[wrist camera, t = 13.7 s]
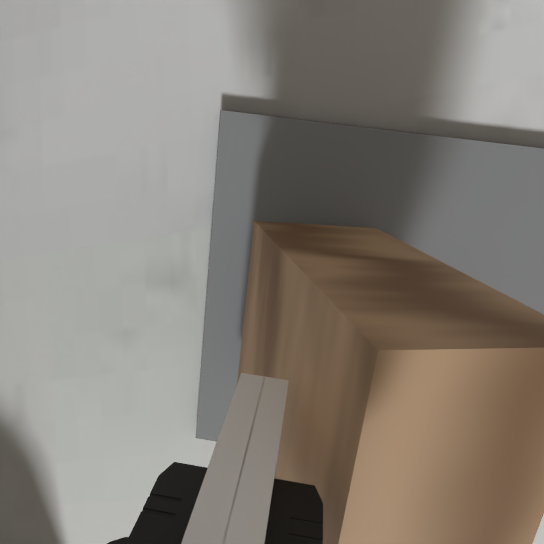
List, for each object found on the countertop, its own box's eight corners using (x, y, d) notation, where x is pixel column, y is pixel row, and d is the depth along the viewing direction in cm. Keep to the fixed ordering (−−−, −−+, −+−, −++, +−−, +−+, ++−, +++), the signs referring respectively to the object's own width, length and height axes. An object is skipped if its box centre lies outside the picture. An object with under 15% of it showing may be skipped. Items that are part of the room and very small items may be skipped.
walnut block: (235, 396, 23) (314, 658, 12) (253, 220, 20) (378, 350, 9) (345, 391, 25) (504, 618, 14) (376, 228, 22) (606, 346, 11)
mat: (198, 431, 27) (195, 437, 26) (223, 110, 22) (220, 110, 21) (582, 495, 26) (588, 503, 25) (712, 169, 20) (724, 169, 20)
